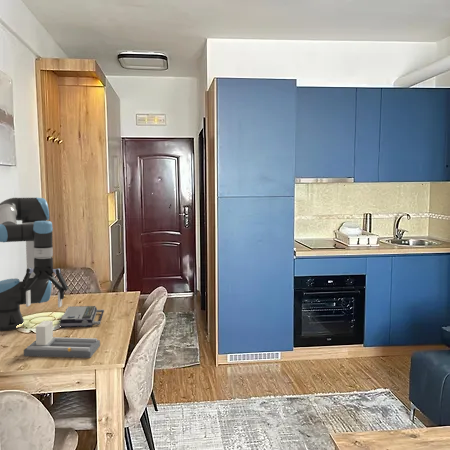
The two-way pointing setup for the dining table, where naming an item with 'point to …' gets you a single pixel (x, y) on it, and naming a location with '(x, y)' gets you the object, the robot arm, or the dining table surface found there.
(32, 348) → the grey slider base
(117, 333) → the dining table surface
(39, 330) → the fader tab
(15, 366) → the dining table surface
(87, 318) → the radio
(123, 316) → the dining table surface
